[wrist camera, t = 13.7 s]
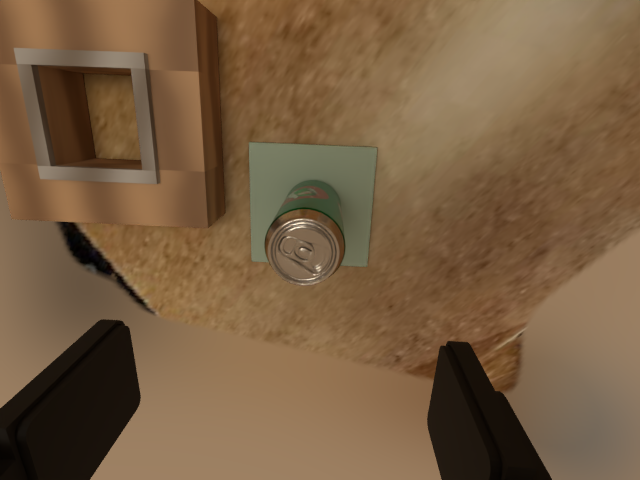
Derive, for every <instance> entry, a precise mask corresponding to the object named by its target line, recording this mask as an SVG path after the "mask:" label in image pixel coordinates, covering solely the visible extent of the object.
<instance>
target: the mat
mask: <svg viewBox="0 0 640 480" xmlns="http://www.w3.org/2000/svg"><path fill="white" fill-rule="evenodd" d="M376 157H377V147H362V146H338V145H314V144H290V143H266V142H249V168H250V213H251V257H252V261H254V262H268V260H267V257H266V254H265V248H264V242H265V236H266V233H267V230H268V228H269V226H270V225H271V223H272V221H273V219H274V218H275V216H276V214H277V212H278V211H279V209H280V207H281V205H282V204H283V202H284V200H285V198H286V197H287V195H288V193H289V192H290V190H291V189H292V188H293V187H294V186H296V185H297V184H299V183H301V182H303V181H307V180H318V181H322V182H324V183H326V184H328V185H330V186H331V187H332V188H333V189H334V190H335V191H336V193H337V194H338V196H339V198H340V201H341V208H342V217H343V226H344V235H345V245H346V247H345V255H344V259H343V261H342V263H341V265H340V266H359V267H367V263H368V251H369V239H370V228H371V216H372V204H373V192H374V181H375V169H376Z"/></svg>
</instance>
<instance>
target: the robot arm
mask: <svg viewBox="0 0 640 480" xmlns="http://www.w3.org/2000/svg"><path fill="white" fill-rule="evenodd" d="M140 398H141V397H140V390H139V383H138V378H137V372H136V365H135V359H134V353H133V347H132V342H131V335H130V330H129V328H128V326H125V324H124V323H123V321H119V320H100V321H98V322H97V323H96V324H95V325H94V326H93V327H92V328H90V329H89V330H88V331H87V332H86V333H85V334H84V335H83V336H81V337H80V338H79V339H78V340H77V341H76V342H75V343H73V344H72V345H71V346H70V347H69V348H68V349H67V350H66V351H64V352H63V353H62V354H61V355H60V356H59V357H58V358H57V359H55V360H54V361H53V362H52V363H51V364H50V365H49V366H48V367H47V368H46V369H44V370H43V371H42V372H41V373H40V374H39V375H37V376H36V377H35V378H34V379H33V380H32V381H31V382H30V383H29V384H27V385H26V386H25V387H24V388H23V389H22V390H21V391H20V392H18V393H17V394H16V395H15V396H14V397H13V398H12V399H11V400H9V401H8V402H7V403H6V404H5V405H4V406H3V407H2V408H0V480H90V479H91V477H92V476H93V474H94V472H95V471H96V469H97V468H98V467H99V465H100V464H101V462H102V460H103V459H104V458H105V456H106V455H107V453H108V452H109V450H110V449H111V447H112V446H113V444H114V443H115V441H116V440H117V438H118V437H119V435H120V434H121V432H122V431H123V429H124V428H125V426H126V425H127V423H128V422H129V420H130V419H131V417H132V416H133V414H134V413H135V412H136V410H137V408H138V406H139V403H140ZM427 420H428V421H427V422H428V430H429V434H430V438H431V441H432V445H433V449H434V453H435V456H436V460H437V464H438V467H439V471H440V475H441V479H442V480H552V479H551V477H550V475H549V473H548V471H547V470H546V468H545V466H544V464H543V463H542V461H541V459H540V457H539V456H538V454H537V452H536V450H535V448H534V447H533V445H532V443H531V441H530V440H529V438H528V436H527V434H526V432H525V431H524V429H523V427H522V425H521V424H520V422H519V420H518V418H517V416H516V415H515V413H514V411H513V409H512V408H511V406H510V404H509V402H508V400H507V399H506V397H505V396H504V394H503V393H501V392H500V391H495V390H494V388H493V386H492V384H491V382H490V381H489V379H488V377H487V375H486V373H485V371H484V369H483V368H482V366H481V364H480V362H479V360H478V358H477V356H476V355H475V353H474V351H473V349H472V347H471V345H470V344H469V343H468V342H455V341H448V342H447V344H446V346H441V347H440V350H439V355H438V361H437V366H436V372H435V377H434V383H433V389H432V394H431V400H430V406H429V411H428V418H427Z"/></svg>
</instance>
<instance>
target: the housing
mask: <svg viewBox="0 0 640 480" xmlns="http://www.w3.org/2000/svg"><path fill="white" fill-rule="evenodd" d="M83 73H86V74H112V75H132V84H133V92H134V101H135V110H136V119H137V127H138V136H139V145H140V154H141V160H121V159H98V158H96V157H95V151H94V144H93V138H92V131H91V124H90V118H89V111H88V105H87V98H86V92H85V85H84V79H83ZM0 171H1V175H2V179H3V183H4V188H5V192H6V196H7V200H8V205H9V209H10V213H11V217H12V219H18V220H19V219H20V220H40V221H62V222H84V223H106V224H127V225H149V226H171V227H193V228H209V227H210V226H211V225H212V224H213V223H214V222H216V221H217V220H218V219H219V218H220V217H221V216H222V215H223V214H224V213H225V197H224V175H223V153H222V131H221V109H220V86H219V64H218V42H217V20H216V16H215V15H214V14H212V13H211V12H210V11H209V10H208V9H207V8H205V7H204V6H203V5H202V4H201V3H200V2H198V1H197V0H0Z"/></svg>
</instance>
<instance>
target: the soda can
mask: <svg viewBox="0 0 640 480" xmlns="http://www.w3.org/2000/svg"><path fill="white" fill-rule="evenodd" d="M345 247H346V245H345V235H344V226H343V217H342V208H341V201H340V198H339V196H338V194H337V193H336V191H335V190H334V189H333V188H332V187H331V186H330V185H328V184H326V183H324V182H322V181H318V180H307V181H303V182H301V183H299V184H297V185H296V186H294V187H293V188H292V189H291V190H290V192H289V193H288V195H287V197H286V198H285V200H284V202H283V204H282V205H281V207H280V209H279V211H278V212H277V214H276V216H275V218H274V219H273V221H272V223H271V225H270V226H269V228H268V230H267V233H266V236H265V242H264V248H265V254H266V257H267V260H268V262H269V263H270V265H271V267H272V268H273V270H274V271H275V272H276V273H277V274H278V275H279V276H280V277H281V278H282V279H284V280H285V281H287V282H289V283H292V284H295V285H300V286H309V285H314V284H317V283H320V282H322V281H324V280H325V279H327V278H328V277H330V276H331V275H332V274H334V273H335V272H336V270H337V269H338V268H339V266H340V265H341V263H342V261H343V259H344V255H345Z"/></svg>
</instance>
